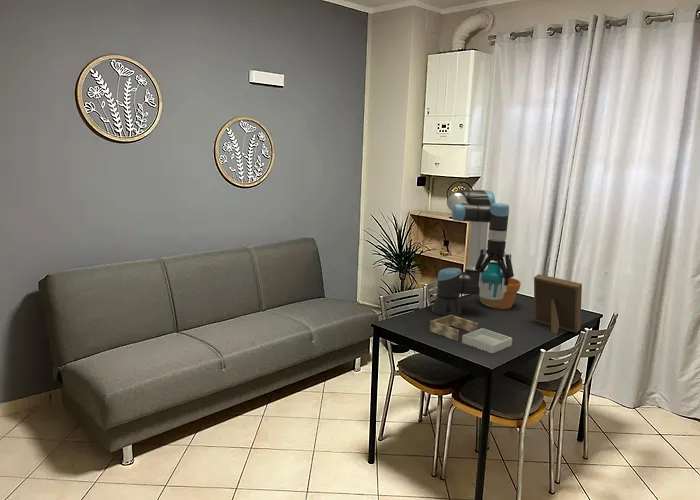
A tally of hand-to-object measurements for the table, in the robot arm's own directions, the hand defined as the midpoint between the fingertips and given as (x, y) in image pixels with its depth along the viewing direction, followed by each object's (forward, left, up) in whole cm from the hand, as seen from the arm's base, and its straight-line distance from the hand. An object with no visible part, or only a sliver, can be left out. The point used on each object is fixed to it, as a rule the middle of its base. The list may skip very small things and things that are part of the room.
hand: (492, 289), depth 230 cm
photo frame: (+8, +45, -26) cm, 52 cm away
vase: (0, 0, -8) cm, 8 cm away
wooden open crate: (-18, 0, -25) cm, 31 cm away
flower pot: (-29, +56, -26) cm, 68 cm away
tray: (0, 0, -25) cm, 25 cm away
